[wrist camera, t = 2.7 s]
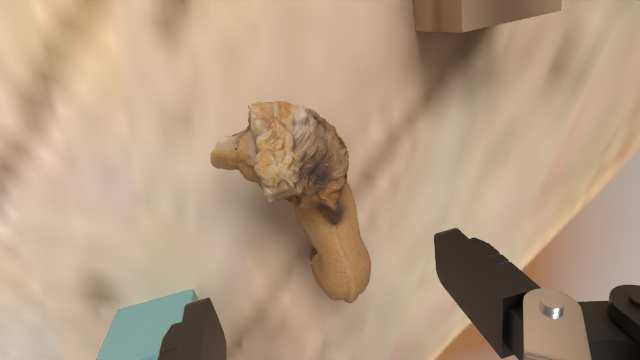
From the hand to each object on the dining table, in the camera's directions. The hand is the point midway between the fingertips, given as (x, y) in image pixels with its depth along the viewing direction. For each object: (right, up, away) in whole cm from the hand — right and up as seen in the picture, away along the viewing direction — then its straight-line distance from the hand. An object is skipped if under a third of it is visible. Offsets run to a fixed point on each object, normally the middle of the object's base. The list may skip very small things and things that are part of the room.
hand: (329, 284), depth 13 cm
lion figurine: (-2, +4, +11) cm, 11 cm away
